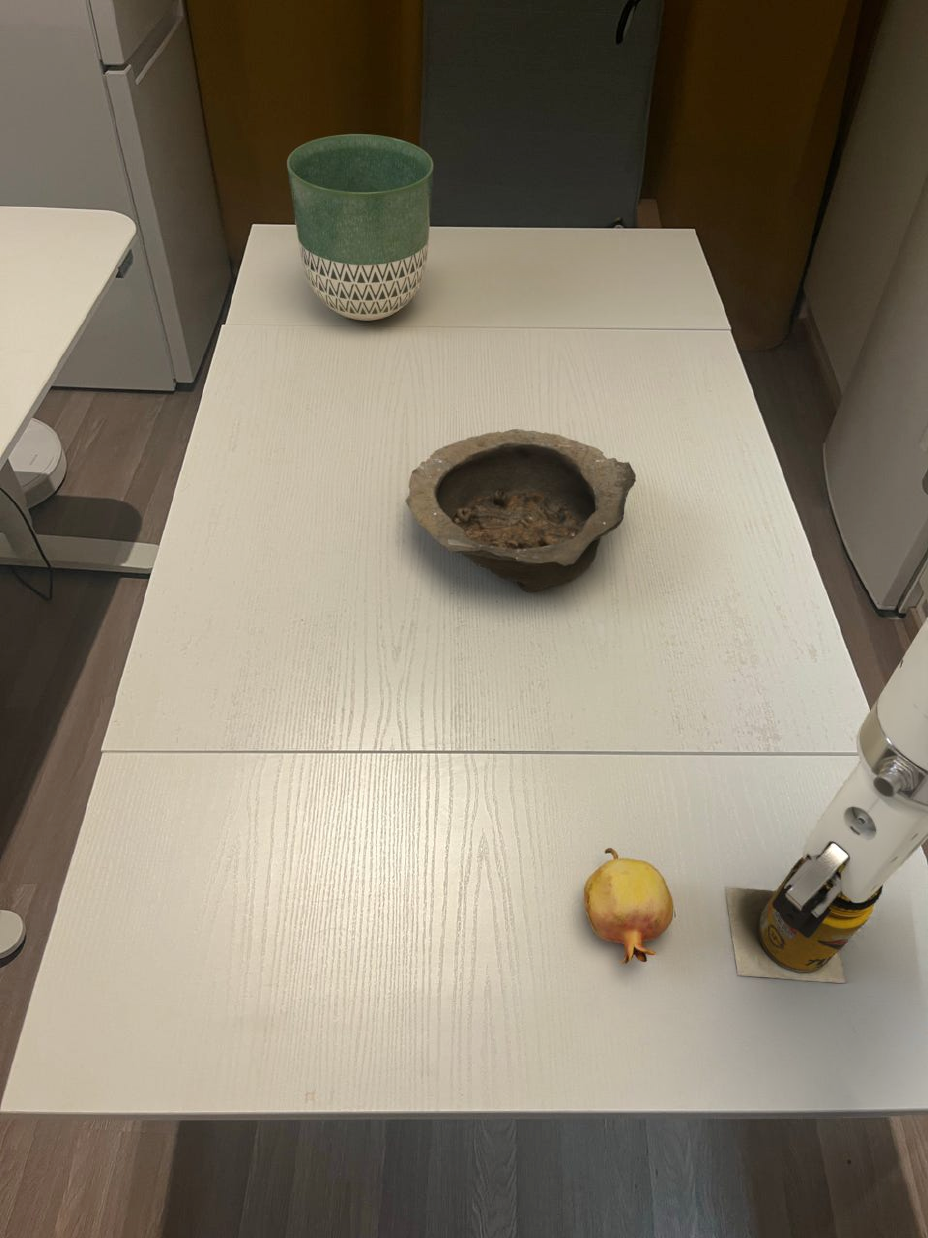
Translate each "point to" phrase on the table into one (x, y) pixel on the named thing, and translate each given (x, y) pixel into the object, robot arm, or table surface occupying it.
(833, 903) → the condiment
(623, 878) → the fruit
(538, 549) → the stone bowl
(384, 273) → the planter
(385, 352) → the table surface
